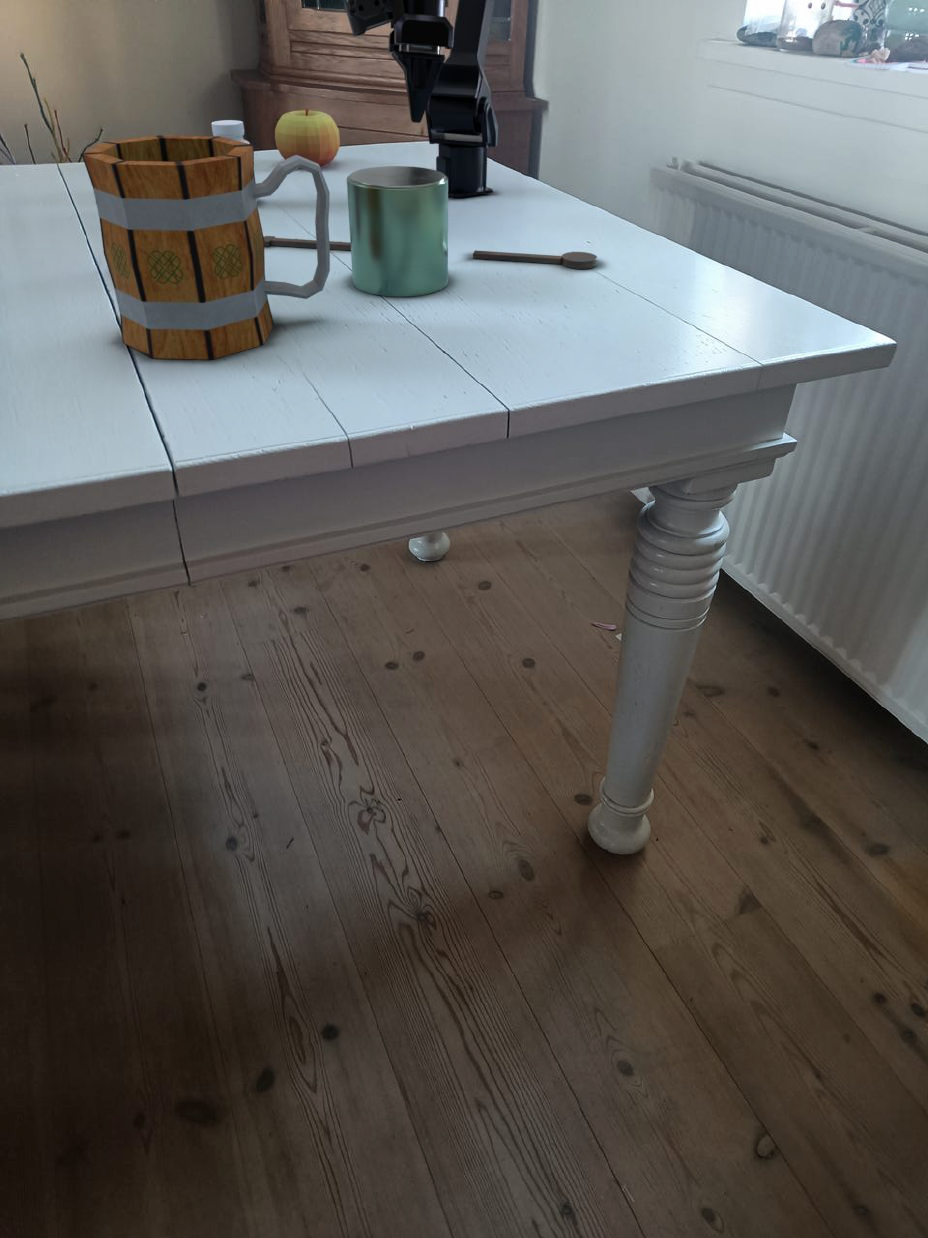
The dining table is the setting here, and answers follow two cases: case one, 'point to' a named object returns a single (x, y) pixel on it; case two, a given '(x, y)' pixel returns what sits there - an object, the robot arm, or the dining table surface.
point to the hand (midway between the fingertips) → (415, 122)
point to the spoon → (543, 258)
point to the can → (398, 230)
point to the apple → (308, 136)
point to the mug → (193, 242)
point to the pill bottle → (229, 131)
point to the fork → (303, 243)
